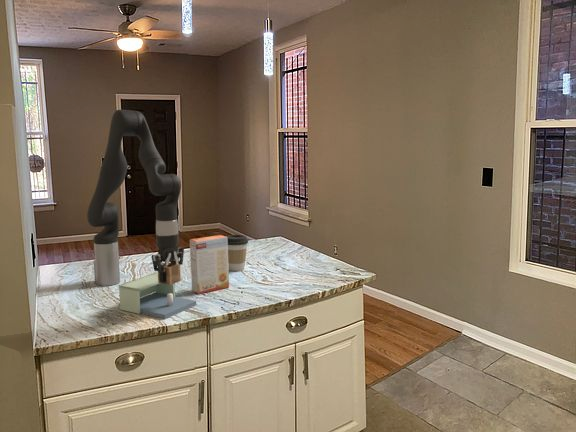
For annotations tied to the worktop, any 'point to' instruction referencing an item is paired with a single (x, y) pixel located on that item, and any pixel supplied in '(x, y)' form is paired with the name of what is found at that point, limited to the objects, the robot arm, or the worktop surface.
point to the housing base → (164, 305)
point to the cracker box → (209, 263)
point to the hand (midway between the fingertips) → (169, 279)
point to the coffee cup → (236, 252)
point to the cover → (141, 291)
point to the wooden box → (171, 274)
